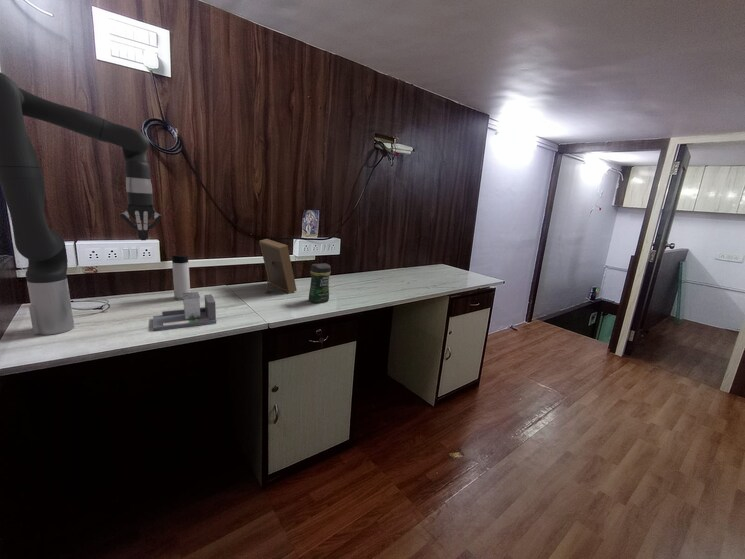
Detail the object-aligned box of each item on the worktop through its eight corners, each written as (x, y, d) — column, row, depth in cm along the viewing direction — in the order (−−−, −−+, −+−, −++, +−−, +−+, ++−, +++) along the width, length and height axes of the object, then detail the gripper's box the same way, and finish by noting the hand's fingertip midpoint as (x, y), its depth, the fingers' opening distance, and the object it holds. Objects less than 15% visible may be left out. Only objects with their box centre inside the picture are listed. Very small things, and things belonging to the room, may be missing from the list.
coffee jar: (315, 304, 155) (316, 266, 151) (306, 299, 161) (307, 262, 156) (331, 301, 162) (334, 264, 157) (322, 296, 167) (324, 261, 163)
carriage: (185, 322, 119) (184, 300, 117) (183, 314, 127) (182, 293, 124) (201, 320, 122) (200, 298, 120) (198, 312, 129) (197, 291, 127)
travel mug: (171, 299, 145) (168, 255, 140) (179, 295, 151) (176, 252, 146) (185, 300, 145) (183, 256, 140) (193, 296, 151) (190, 253, 146)
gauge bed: (153, 331, 114) (151, 308, 112) (153, 319, 123) (151, 298, 121) (216, 323, 125) (215, 302, 123) (211, 312, 134) (211, 293, 132)
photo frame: (276, 282, 186) (276, 238, 179) (296, 292, 171) (297, 244, 164) (250, 285, 175) (249, 239, 169) (270, 296, 161) (270, 246, 154)
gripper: (115, 190, 110) (120, 241, 114) (162, 193, 117) (165, 241, 121) (117, 189, 116) (122, 238, 120) (161, 192, 123) (164, 238, 127)
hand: (143, 240), depth 121 cm, fingers closed
